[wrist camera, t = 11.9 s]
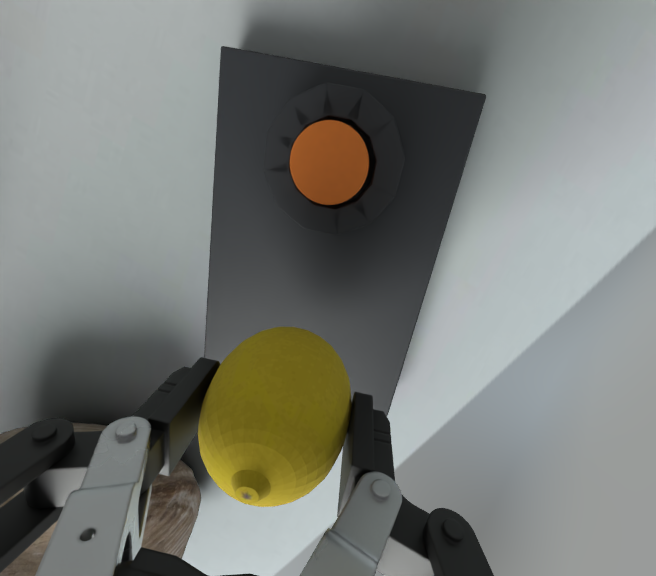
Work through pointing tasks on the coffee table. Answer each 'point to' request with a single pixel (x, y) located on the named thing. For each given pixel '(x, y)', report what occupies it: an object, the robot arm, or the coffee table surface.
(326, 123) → the button
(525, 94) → the coffee table surface
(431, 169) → the dark grey base plate
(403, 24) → the coffee table surface
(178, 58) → the coffee table surface
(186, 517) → the seashell
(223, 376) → the lemon
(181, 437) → the robot arm
